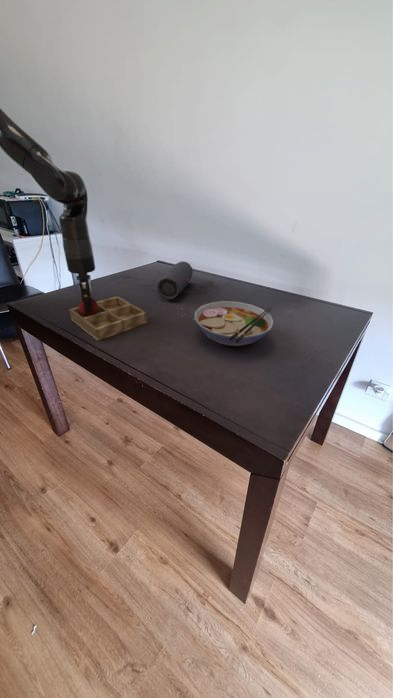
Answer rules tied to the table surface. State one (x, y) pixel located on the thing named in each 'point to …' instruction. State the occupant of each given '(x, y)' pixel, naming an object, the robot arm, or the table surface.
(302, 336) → the table surface
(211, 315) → the ramen bowl
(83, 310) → the onion
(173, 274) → the bluetooth speaker
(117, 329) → the compartment tray
